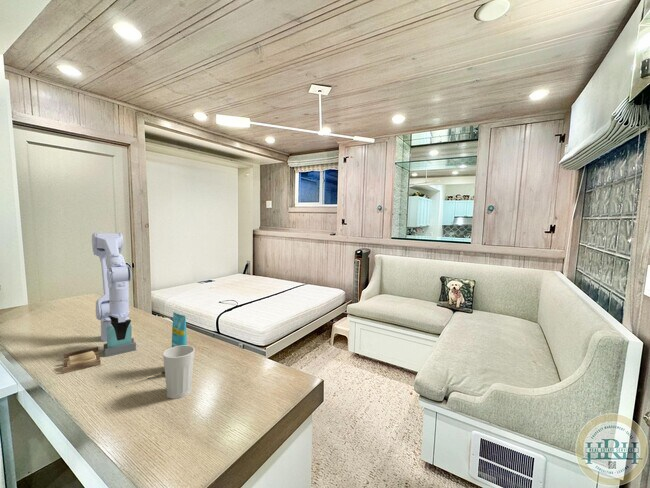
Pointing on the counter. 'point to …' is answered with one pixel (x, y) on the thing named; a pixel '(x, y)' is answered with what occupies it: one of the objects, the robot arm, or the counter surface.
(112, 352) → the holder
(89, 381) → the counter surface
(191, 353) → the cup
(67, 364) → the offcut low
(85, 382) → the counter surface
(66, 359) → the rack
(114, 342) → the teal block
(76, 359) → the offcut top
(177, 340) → the tube
